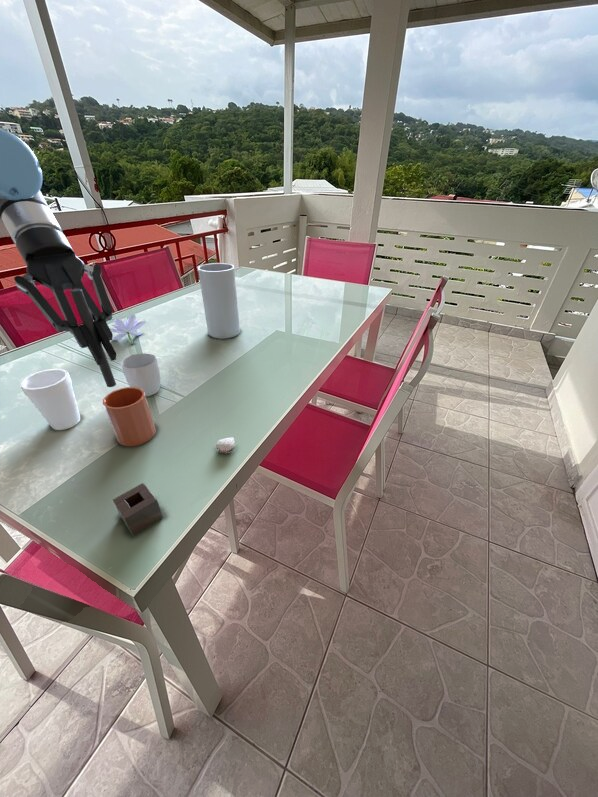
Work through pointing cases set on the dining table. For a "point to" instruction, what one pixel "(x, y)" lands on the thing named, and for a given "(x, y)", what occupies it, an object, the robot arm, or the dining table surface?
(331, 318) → the dining table surface
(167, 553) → the dining table surface
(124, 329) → the water lily
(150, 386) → the mug
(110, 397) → the tumbler
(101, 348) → the rod
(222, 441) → the white seashell
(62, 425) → the foam cup
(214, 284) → the cylinder vase
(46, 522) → the dining table surface
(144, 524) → the holder
